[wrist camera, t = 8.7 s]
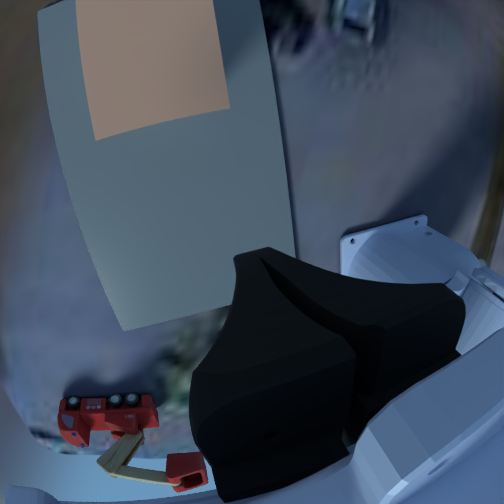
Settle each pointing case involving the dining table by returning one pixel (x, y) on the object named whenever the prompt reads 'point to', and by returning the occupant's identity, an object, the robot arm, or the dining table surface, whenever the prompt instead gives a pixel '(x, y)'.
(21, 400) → the dining table surface
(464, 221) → the dining table surface
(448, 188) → the dining table surface
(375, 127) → the dining table surface
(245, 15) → the baseplate
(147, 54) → the tan rectangular block
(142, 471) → the toy fire truck
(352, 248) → the robot arm
